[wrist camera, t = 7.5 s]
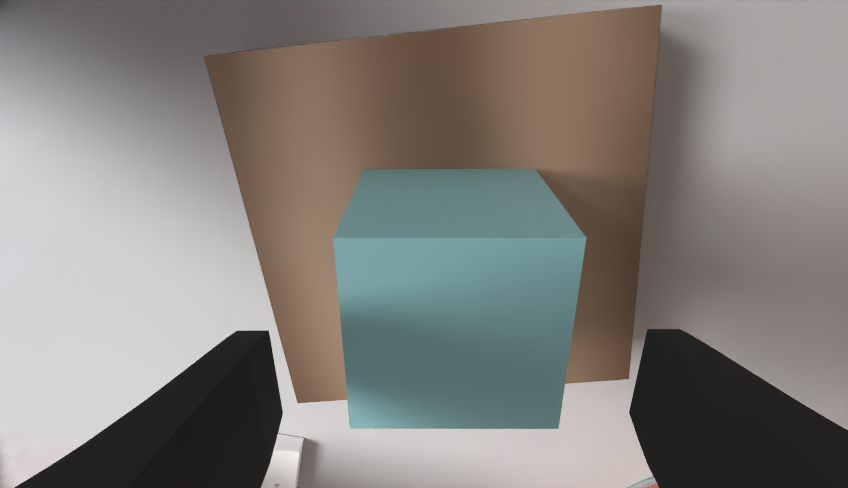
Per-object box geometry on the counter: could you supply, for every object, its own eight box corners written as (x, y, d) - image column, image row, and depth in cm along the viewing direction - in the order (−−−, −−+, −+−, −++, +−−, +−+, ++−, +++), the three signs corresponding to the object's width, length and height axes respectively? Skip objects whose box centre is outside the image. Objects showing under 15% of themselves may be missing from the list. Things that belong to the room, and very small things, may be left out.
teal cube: (371, 314, 16) (349, 428, 12) (363, 168, 14) (332, 238, 10) (521, 314, 16) (558, 428, 12) (534, 168, 14) (586, 237, 10)
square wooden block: (317, 346, 21) (297, 402, 18) (248, 50, 16) (204, 56, 13) (597, 323, 20) (628, 378, 17) (613, 9, 16) (661, 5, 12)
